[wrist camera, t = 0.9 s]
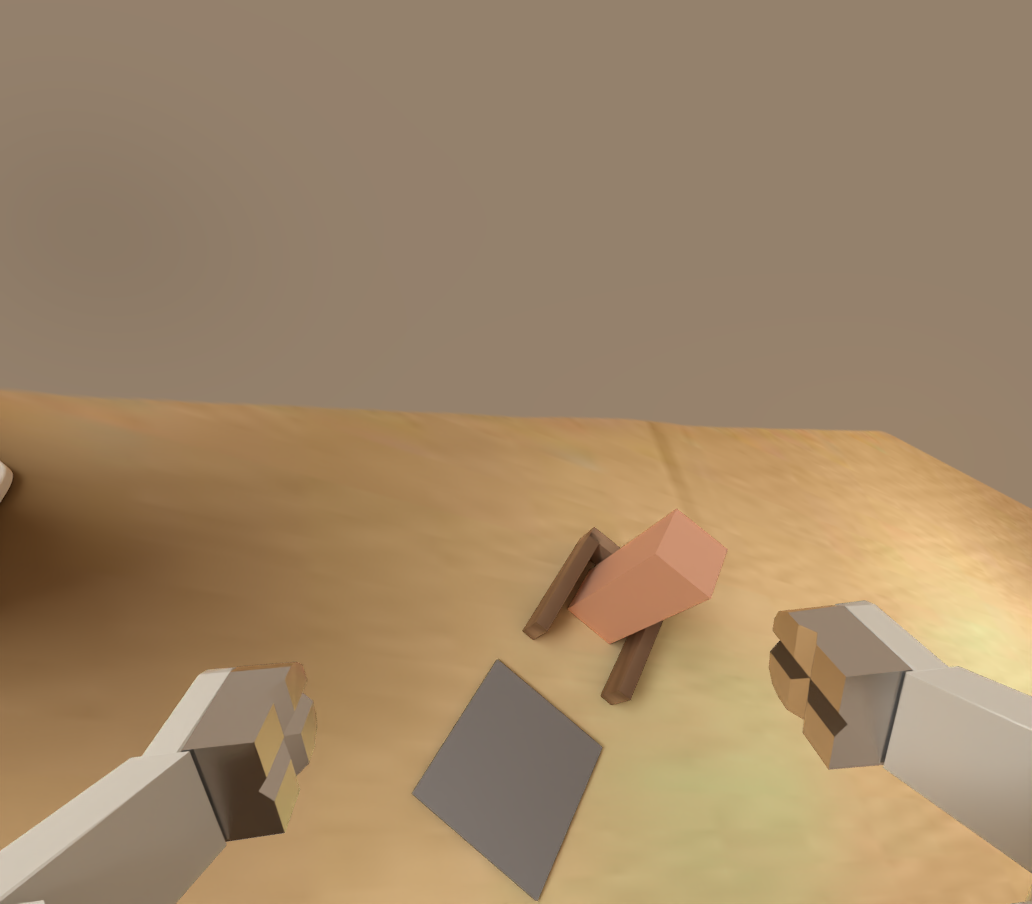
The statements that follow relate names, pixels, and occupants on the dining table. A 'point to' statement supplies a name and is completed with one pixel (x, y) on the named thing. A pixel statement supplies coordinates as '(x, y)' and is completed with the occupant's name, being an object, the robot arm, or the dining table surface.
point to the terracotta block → (650, 578)
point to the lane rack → (586, 549)
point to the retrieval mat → (511, 777)
